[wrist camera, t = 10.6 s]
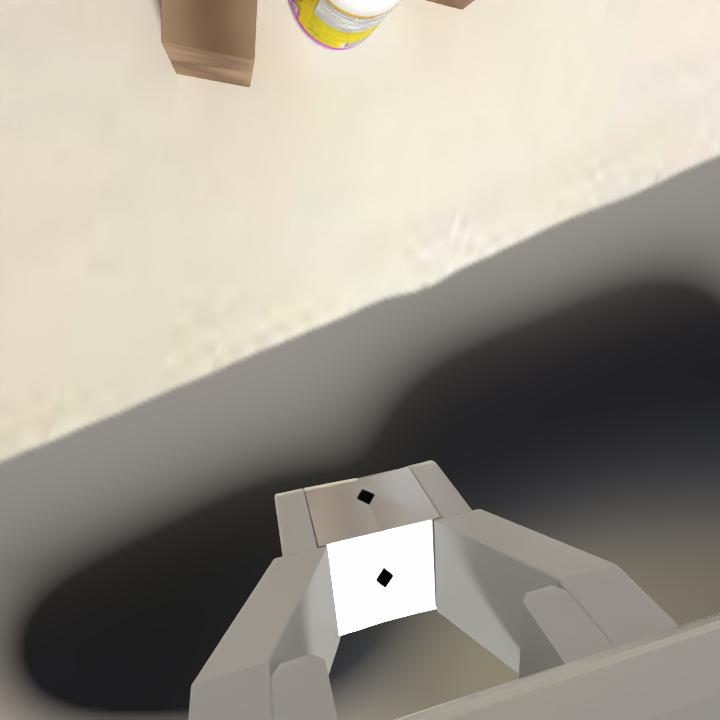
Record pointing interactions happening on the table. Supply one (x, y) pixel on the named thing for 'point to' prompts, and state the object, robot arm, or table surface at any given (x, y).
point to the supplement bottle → (339, 20)
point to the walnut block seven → (454, 3)
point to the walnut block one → (210, 38)
